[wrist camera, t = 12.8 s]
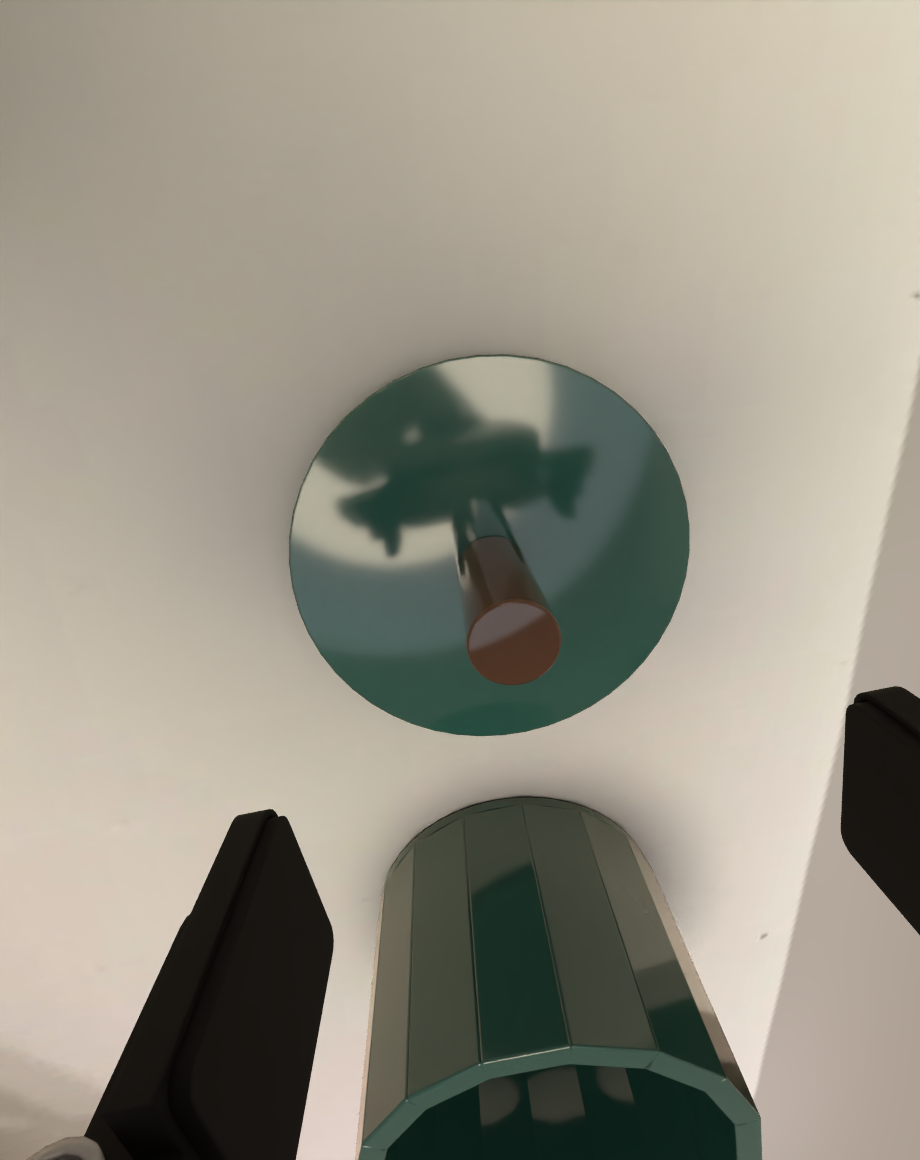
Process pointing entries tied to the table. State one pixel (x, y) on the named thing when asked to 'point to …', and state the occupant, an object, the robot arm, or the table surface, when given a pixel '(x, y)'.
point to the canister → (541, 1002)
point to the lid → (489, 545)
